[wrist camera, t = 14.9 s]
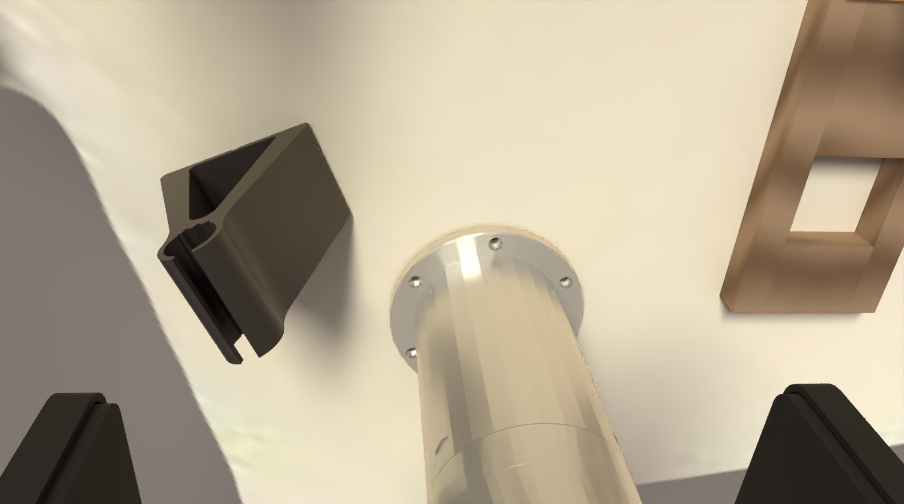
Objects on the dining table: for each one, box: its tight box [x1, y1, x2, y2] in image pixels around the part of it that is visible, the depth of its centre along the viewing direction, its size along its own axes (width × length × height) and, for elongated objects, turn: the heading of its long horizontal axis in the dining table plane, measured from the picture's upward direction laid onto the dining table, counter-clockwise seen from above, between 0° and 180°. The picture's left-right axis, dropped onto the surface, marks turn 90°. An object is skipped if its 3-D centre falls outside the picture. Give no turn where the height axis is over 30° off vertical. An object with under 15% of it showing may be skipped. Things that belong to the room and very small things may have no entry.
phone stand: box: [157, 123, 351, 364], centre depth 35 cm, size 9×6×12 cm, turn 109°
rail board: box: [720, 0, 904, 313], centre depth 39 cm, size 32×10×2 cm, turn 176°
